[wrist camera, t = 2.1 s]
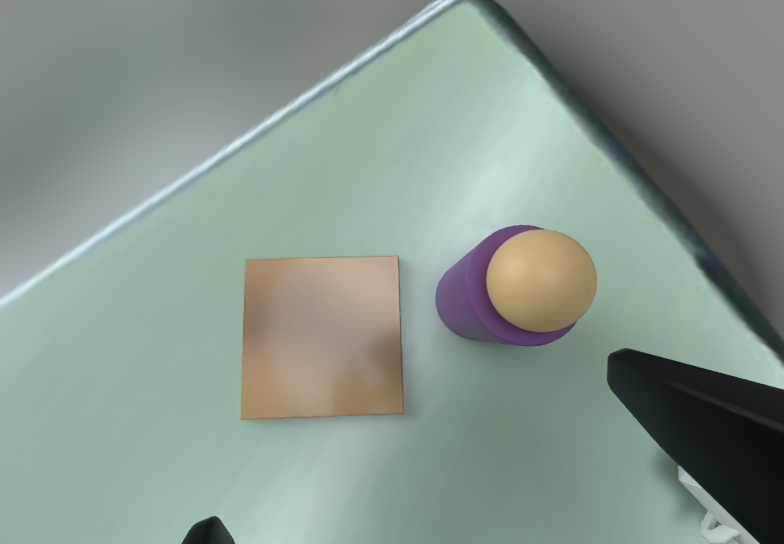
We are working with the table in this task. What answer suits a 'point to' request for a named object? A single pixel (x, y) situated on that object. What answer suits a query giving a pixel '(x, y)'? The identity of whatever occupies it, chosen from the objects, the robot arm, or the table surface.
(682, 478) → the stamp
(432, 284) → the table surface
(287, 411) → the cork coaster
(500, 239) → the peg doll toy
